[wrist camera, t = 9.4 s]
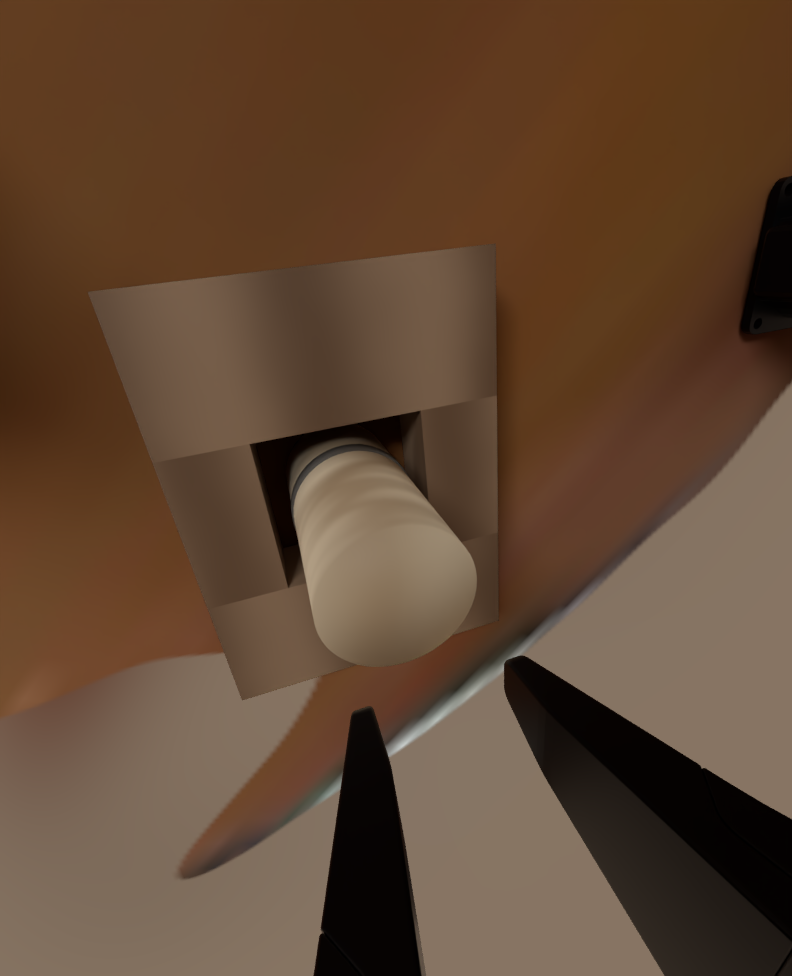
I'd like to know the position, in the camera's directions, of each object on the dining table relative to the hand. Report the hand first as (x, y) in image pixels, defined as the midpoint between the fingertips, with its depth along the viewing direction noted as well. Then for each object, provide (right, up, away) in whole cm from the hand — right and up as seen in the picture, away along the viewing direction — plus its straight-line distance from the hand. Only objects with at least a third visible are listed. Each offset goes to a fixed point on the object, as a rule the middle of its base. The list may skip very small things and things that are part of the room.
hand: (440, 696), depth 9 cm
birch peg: (-3, +5, +10) cm, 12 cm away
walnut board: (-3, +5, +10) cm, 12 cm away
